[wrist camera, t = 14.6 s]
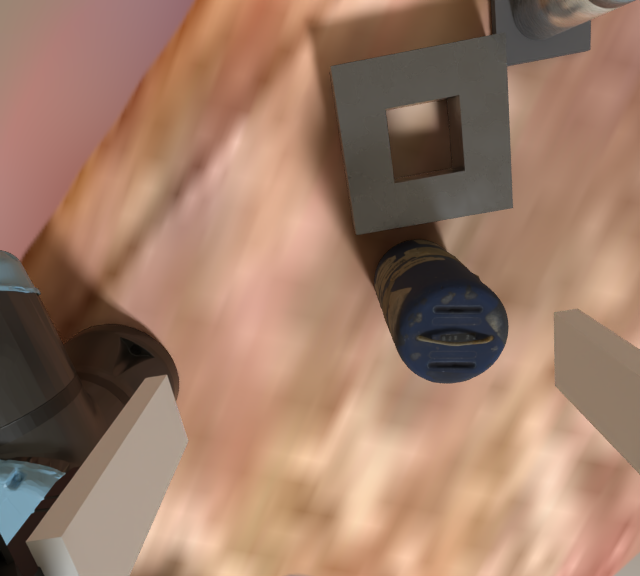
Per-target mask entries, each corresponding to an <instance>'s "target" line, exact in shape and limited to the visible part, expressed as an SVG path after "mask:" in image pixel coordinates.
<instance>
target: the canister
mask: <svg viewBox="0 0 640 576" xmlns="http://www.w3.org/2000/svg"><path fill="white" fill-rule="evenodd" d="M374 286H375V291H376V295H377V297H378V300H379V303H380V307H381V309H382V311H383V315H384V318H385V321H386V323H387V326H388V328H389V331H390V333H391V336H392V339H393V341H394V343H395V346H396V348H397V351H398V353H399V355H400V357H401V359H402V360H403V362H404V363H405V364H406V365H407V367H408V368H409V369H410V370H411V371H413V372H414V373H415V374H417V375H418V376H420V377H422V378H424V379H426V380H429V381H431V382H436V383H457V382H463V381H467V380H469V379H471V378H473V377H476V376H478V375H480V374H481V373H483V372H484V371H486V370H487V369H488V368H489V367H491V366H492V365H493V364H494V362H495V361H496V360H497V359H498V357H499V356H500V354H501V352H502V351H503V349H504V346H505V344H506V340H507V336H508V318H507V314H506V311H505V308H504V306H503V304H502V302H501V301H500V299H499V298H498V297H497V295H496V294H495V293H494V292H493V291H492V290H491V289H490V288H488V287H487V286H486V285H485V284H483V283H482V282H481V281H480V279H479V276H477V275H475V274H473V273H472V272H470V271H469V270H468V269H467V267H465V266H464V265H463V264H462V263H461V262H460V261H459V260H458V259H457V258H456V257H455V256H453V255H451V254H450V253H448V252H447V251H446V250H445V249H444V248H442V247H441V246H439V245H438V244H436V243H433V242H431V241H427V240H410V241H405V242H402V243H400V244H398V245H396V246H394V247H393V248H391V249H390V250H389V251H388V252H387V253H386V254H385V255H384V256H383V258H382V259H381V260H380V262H379V264H378V266H377V269H376V272H375V278H374Z"/></svg>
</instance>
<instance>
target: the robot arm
mask: <svg viewBox="0 0 640 576" xmlns="http://www.w3.org/2000/svg"><path fill="white" fill-rule="evenodd" d="M39 295H41V293H40V291H39V289H38V288H36V287H34V285H33V283H32V281H31V280H30V278H29V276H28V274H27V272H26V271H25V269H24V267H23V265H22V263H21V262H20V261H19V259H18V258H17V257H15V256H14V255H12V254H11V253H8V252H6V251H2V250H0V576H130V573H131V571H132V569H133V566H134V564H135V562H136V560H137V557H138V555H139V553H140V550H141V548H142V546H143V544H144V541H145V539H146V537H147V534H148V532H149V530H150V528H151V525H152V523H153V521H154V518H155V516H156V514H157V512H158V509H159V507H160V505H161V502H162V500H163V498H164V496H165V493H166V491H167V489H168V486H169V484H170V482H171V480H172V477H173V475H174V473H175V470H176V468H177V466H178V464H179V461H180V459H181V457H182V454H183V452H184V450H185V448H186V445H187V443H188V438H187V435H186V432H185V429H184V426H183V423H182V420H181V417H180V413H179V410H178V407H177V404H176V400H177V397H178V392H179V377H178V373H177V369H176V367H175V364H174V362H173V360H172V358H171V357H170V355H169V354H168V353H167V351H166V350H165V349H164V348H163V347H162V346H161V345H160V344H159V343H158V342H157V341H156V340H154V339H153V338H152V337H150V336H149V335H147V334H145V333H143V332H141V331H139V330H137V329H134V328H131V327H127V326H123V325H115V324H106V325H98V326H93V327H90V328H87V329H85V330H83V331H81V332H79V333H78V334H76V335H75V336H74V337H73V338H71V339H70V340H69V341H68V342H66V343H65V344H64V345H63V343H62V341H61V339H60V337H59V335H58V333H57V331H56V329H55V327H54V325H53V323H52V321H51V319H50V317H49V315H48V313H47V311H46V309H45V307H44V305H43V303H42V301H41V299H40V297H39ZM554 354H555V386H556V387H557V388H558V389H559V390H560V391H561V392H562V393H563V394H564V396H565V397H566V398H567V399H568V400H569V401H570V402H571V403H572V404H573V405H574V406H575V407H576V408H577V409H578V410H579V411H580V412H581V413H582V414H583V415H584V416H585V418H586V419H587V420H588V421H589V422H590V423H591V424H592V425H593V426H594V427H595V428H596V429H597V430H598V431H599V432H600V433H601V434H602V435H603V436H604V437H605V438H606V440H607V441H608V442H609V443H610V444H611V445H612V446H613V447H614V448H615V449H616V450H617V451H618V452H619V453H620V454H621V455H622V456H623V457H624V458H625V459H626V461H627V462H628V463H629V464H630V465H631V466H632V467H633V468H634V469H635V470H636V471H637V472H638V473H639V474H640V349H638V348H637V347H635V346H634V345H632V344H631V343H629V342H628V341H626V340H624V339H623V338H621V337H620V336H618V335H617V334H615V333H614V332H612V331H611V330H609V329H608V328H606V327H605V326H603V325H602V324H600V323H599V322H597V321H596V320H594V319H593V318H591V317H589V316H588V315H586V314H585V313H583V312H582V311H580V310H579V309H573V310H567V311H560V312H554Z"/></svg>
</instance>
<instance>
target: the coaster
mask: <svg viewBox="0 0 640 576" xmlns="http://www.w3.org/2000/svg"><path fill="white" fill-rule="evenodd" d="M514 2H515V0H491V12H492V32H493V35H494V34H499V33H504V32H506V54H507V66H511V65H517V64H522V63H527V62H532V61H538V60H543V59H548V58H553V57H559V56H564V55H569V54H574V53H580V52H585V51H588V50H590V38H591V20H589V21H587V22H585V23H582V24H580V25H578V26H576V27H573V28H571V29H569V30H566V31H564V32H562V33H559V34H557V35H555V36H553V37H550V38H548V39H544V40H532V39H529V38H527V37H525V36H524V35H523V34H521V32H520V31H519V30H518V28H517V27H516V24H515V22H514V17H513V7H514Z"/></svg>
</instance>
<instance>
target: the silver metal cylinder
mask: <svg viewBox="0 0 640 576" xmlns="http://www.w3.org/2000/svg"><path fill="white" fill-rule="evenodd" d="M633 1H635V0H515V2H514V7H513V17H514V22H515V24H516V27H517V28H518V30H519V31H520V32H521V34H523V35H524V36H525V37H527V38H529V39H532V40H544V39H548V38H550V37H553V36H555V35H557V34H559V33H562V32H564V31H566V30H569V29H571V28H573V27H576V26H578V25H580V24H582V23H585V22H587V21H589V20H592V19H594V18H596V17H599V16H601V15H603V14H605V13H608V12H610V11H612V10H615V9H617V8H619V7H622V6H624V5H626V4H628V3H631V2H633Z"/></svg>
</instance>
